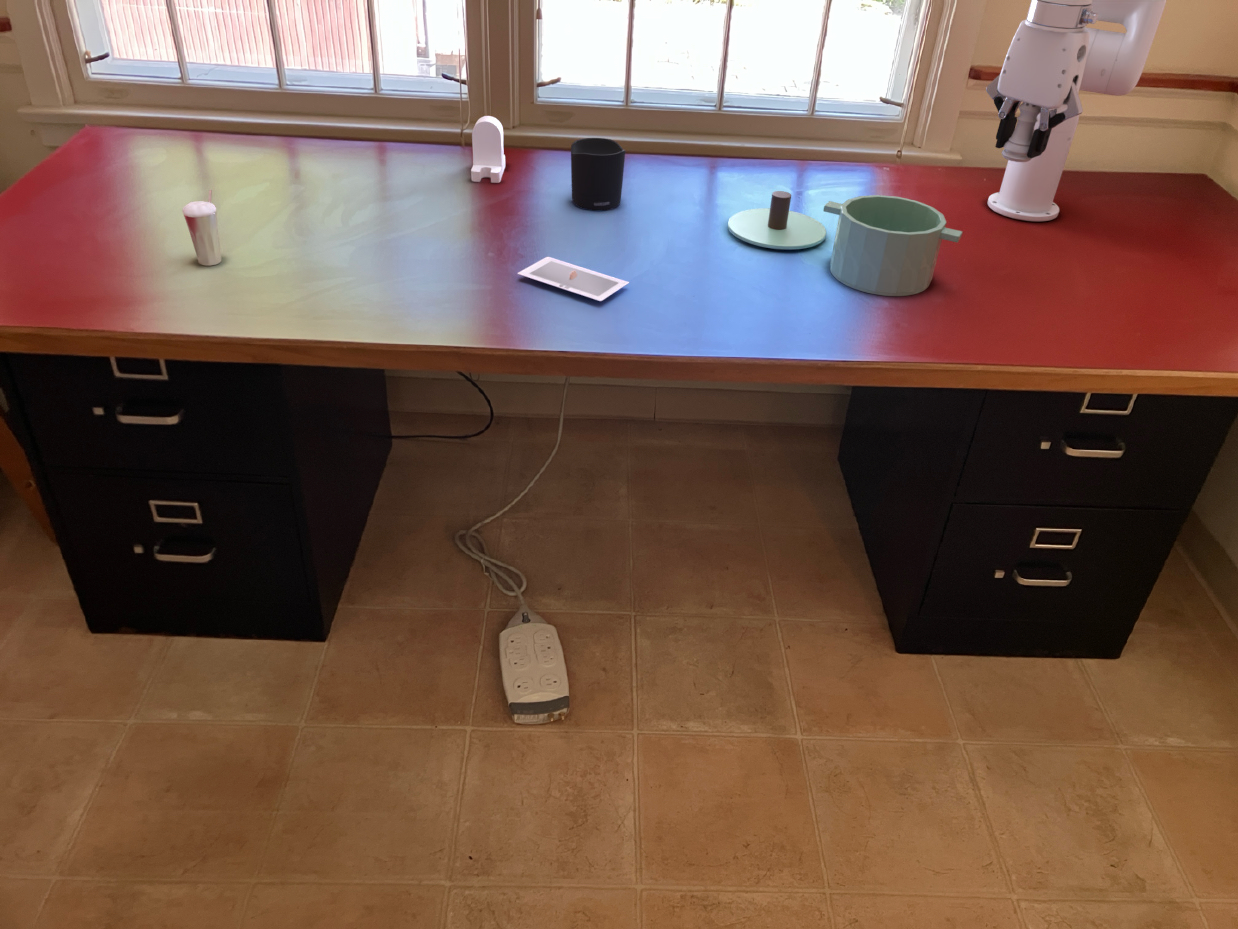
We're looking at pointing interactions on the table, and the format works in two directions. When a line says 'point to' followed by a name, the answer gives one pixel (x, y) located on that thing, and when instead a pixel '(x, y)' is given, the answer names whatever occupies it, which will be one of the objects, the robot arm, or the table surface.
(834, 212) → the pale green cooking pot
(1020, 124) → the rook chess piece
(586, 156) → the pen holder
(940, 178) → the table surface
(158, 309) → the table surface
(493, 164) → the white phone stand
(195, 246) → the milkshake
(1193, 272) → the table surface
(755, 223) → the pot lid
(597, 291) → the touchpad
